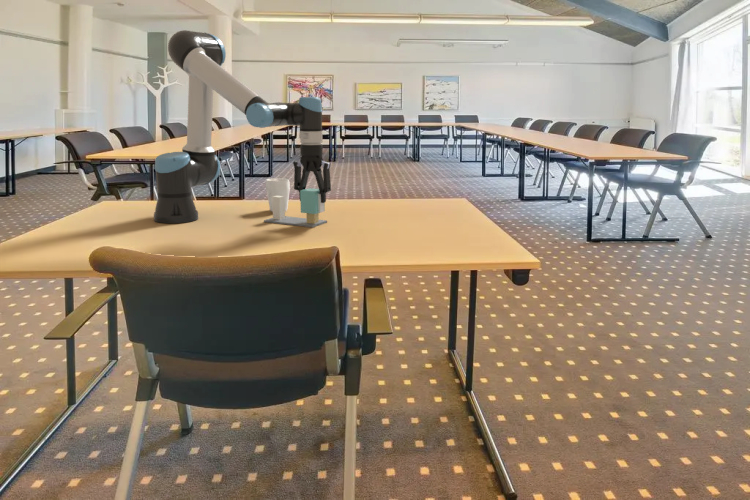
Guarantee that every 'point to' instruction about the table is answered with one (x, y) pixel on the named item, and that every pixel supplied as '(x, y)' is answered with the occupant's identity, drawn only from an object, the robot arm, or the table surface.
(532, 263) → the table surface
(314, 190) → the teal cube block
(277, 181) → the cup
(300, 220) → the post board
